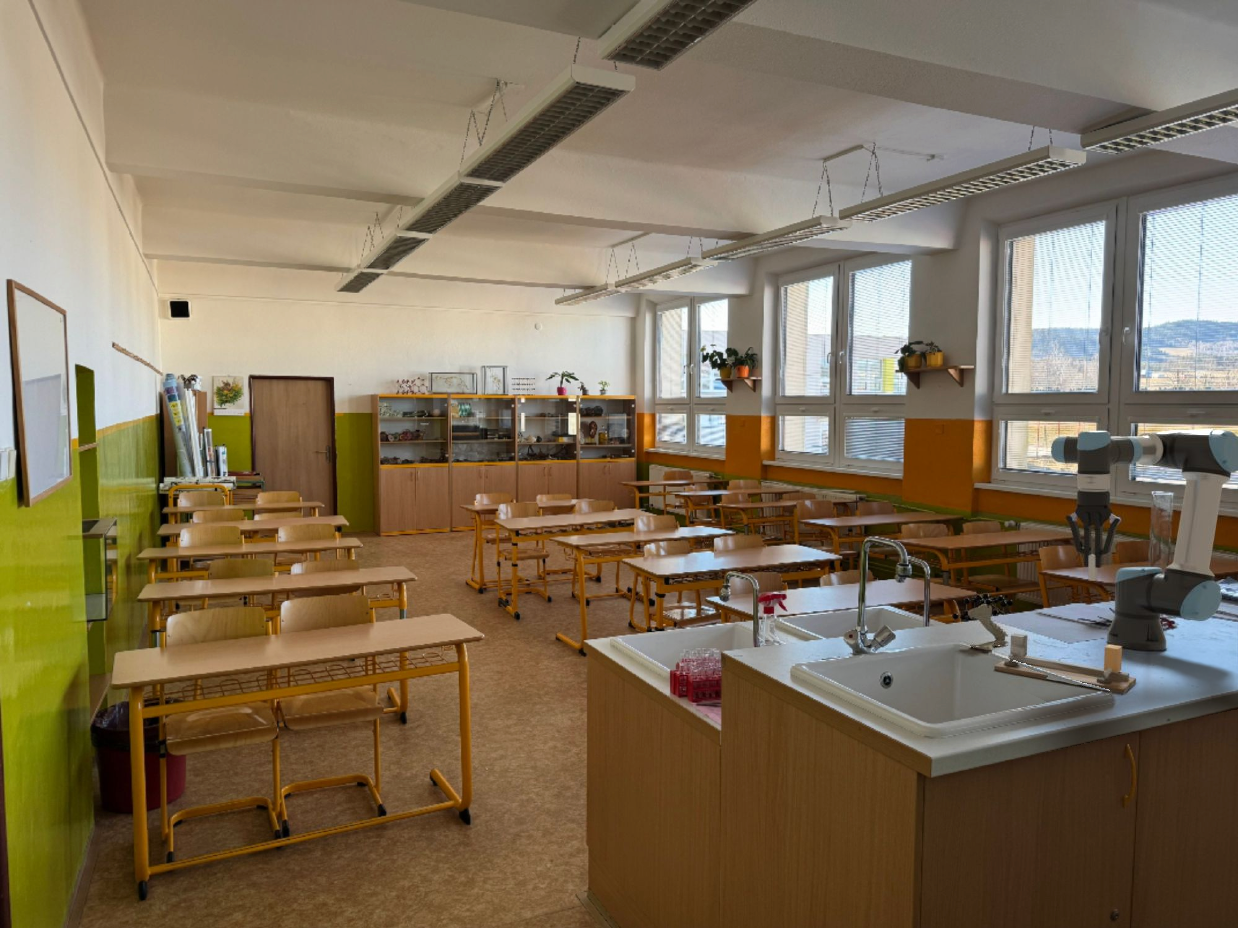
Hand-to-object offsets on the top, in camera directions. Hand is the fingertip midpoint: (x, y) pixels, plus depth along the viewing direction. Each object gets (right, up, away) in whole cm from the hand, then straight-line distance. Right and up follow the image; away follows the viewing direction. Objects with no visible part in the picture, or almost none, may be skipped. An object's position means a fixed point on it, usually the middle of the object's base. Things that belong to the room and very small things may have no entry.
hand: (1092, 579), depth 227 cm
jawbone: (-17, -23, +26) cm, 39 cm away
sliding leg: (-2, -22, -11) cm, 25 cm away
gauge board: (-10, -24, -4) cm, 27 cm away
